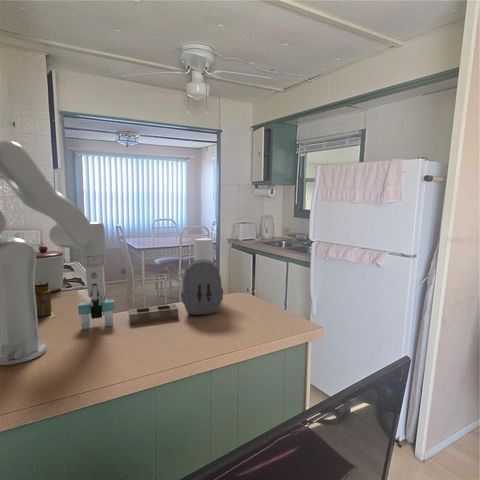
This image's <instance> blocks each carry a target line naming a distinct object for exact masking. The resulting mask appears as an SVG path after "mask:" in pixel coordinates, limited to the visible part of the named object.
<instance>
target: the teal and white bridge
mask: <svg viewBox="0 0 480 480" xmlns="http://www.w3.org/2000/svg"><path fill="white" fill-rule="evenodd" d="M101 305H102V313H103V314H104V327H112V326H114V315H113V314H114V313H113V312H114V311H115V306H114V305H115V304H114V298H113V299H107V300H106V299H105V300H102V301H101ZM77 307H78V315H79V316H80V326H81V330H87V329H88V330H89V329H91V326H92V325H91V301H87V302H79V303H78V306H77Z"/></svg>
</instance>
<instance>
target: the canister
mask: <svg viewBox="0 0 480 480" xmlns="http://www.w3.org/2000/svg"><path fill="white" fill-rule="evenodd" d="M38 250H39V251H35V254H36V266H35V275H34V283H38V282H47V283H48V284H49V285H48V286H49V290H50V293H51V292H55V291H58V290H60V289H61V288H62V286H63V281H64V269H65V268H64V265H65V256H66V253H64V252H63V251H59V250H48V246H46V245H40V246H39V247H38Z"/></svg>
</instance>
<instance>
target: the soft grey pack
mask: <svg viewBox="0 0 480 480" xmlns="http://www.w3.org/2000/svg"><path fill="white" fill-rule="evenodd" d="M182 276H183V277H182V289H181V291H180V298H181V302H182V304H184V308H185V310H186V314H187V315H193V316H196V315H197V316H200V315H201V316H202V315H209V314H213V313H216V312H218V311H219V310H220V306H221V303H222V301H223V300H224V289H223V287H222V277H221V274H220V271H219V268H218V265H217V264H215V263H214V261H213V262H211V261H210V260H204V259H200V260H197V261H195V260H193V261H192V262H190V263H189V264H188V265H187V266H186V267H185V271H184V273H183V275H182Z"/></svg>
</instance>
